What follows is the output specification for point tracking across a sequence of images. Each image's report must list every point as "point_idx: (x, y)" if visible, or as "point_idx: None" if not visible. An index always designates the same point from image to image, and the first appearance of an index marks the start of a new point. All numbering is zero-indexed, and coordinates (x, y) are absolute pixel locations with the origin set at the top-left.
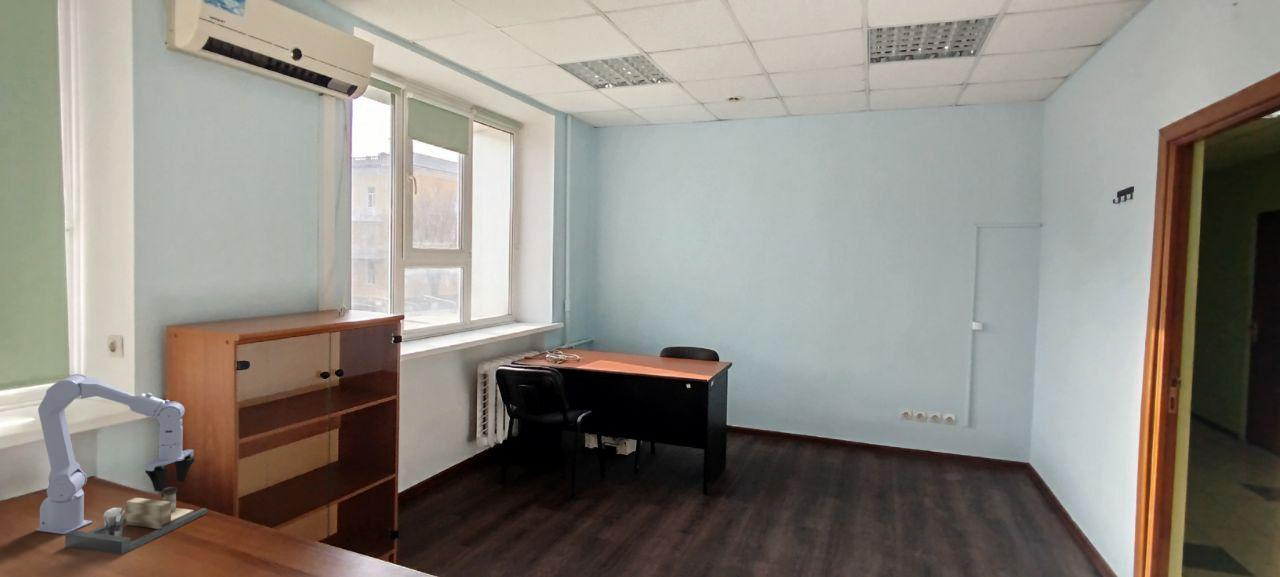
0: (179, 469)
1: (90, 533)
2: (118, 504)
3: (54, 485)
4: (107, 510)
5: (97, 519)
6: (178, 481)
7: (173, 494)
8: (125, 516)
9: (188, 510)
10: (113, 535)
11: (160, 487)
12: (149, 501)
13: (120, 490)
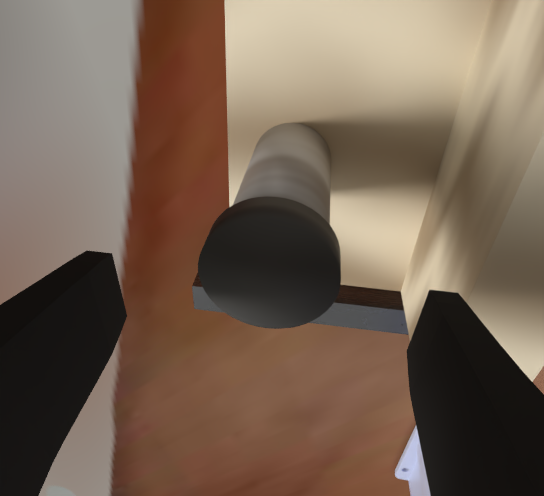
0: (20, 458)
1: None
2: (232, 418)
3: None
4: None
5: (385, 403)
6: (122, 307)
7: (288, 199)
8: (404, 330)
9: (243, 20)
10: None
11: (490, 338)
12: (532, 276)
13: (132, 463)
